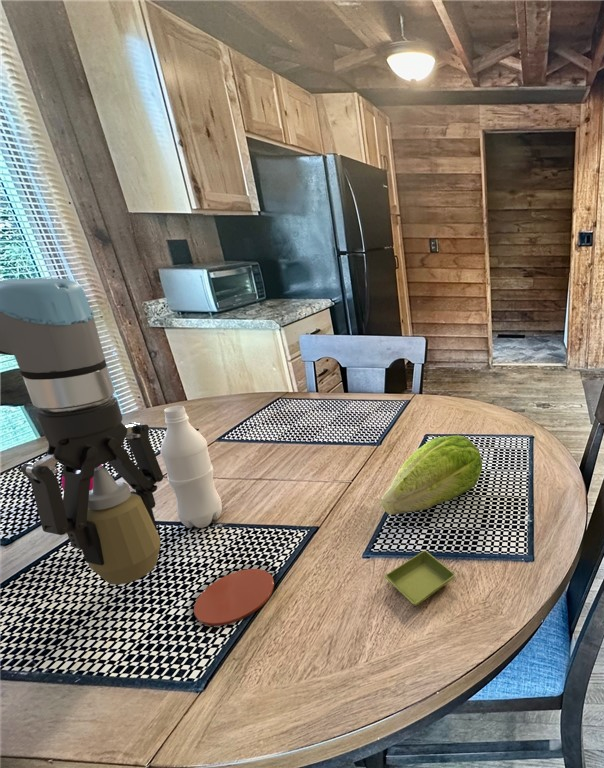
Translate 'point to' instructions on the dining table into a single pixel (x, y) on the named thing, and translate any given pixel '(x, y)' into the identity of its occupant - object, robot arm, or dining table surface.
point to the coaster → (234, 597)
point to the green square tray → (420, 577)
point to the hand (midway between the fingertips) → (123, 544)
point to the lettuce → (434, 475)
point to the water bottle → (189, 470)
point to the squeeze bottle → (121, 530)
